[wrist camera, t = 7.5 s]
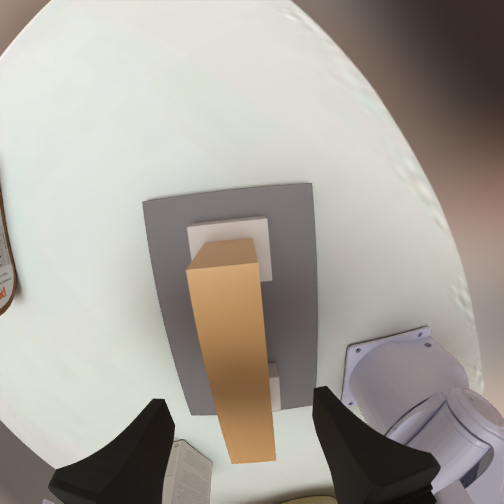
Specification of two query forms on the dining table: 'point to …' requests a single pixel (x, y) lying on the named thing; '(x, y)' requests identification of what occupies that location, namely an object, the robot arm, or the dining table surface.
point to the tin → (5, 266)
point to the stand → (271, 280)
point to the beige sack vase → (313, 500)
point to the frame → (234, 345)
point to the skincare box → (187, 476)
